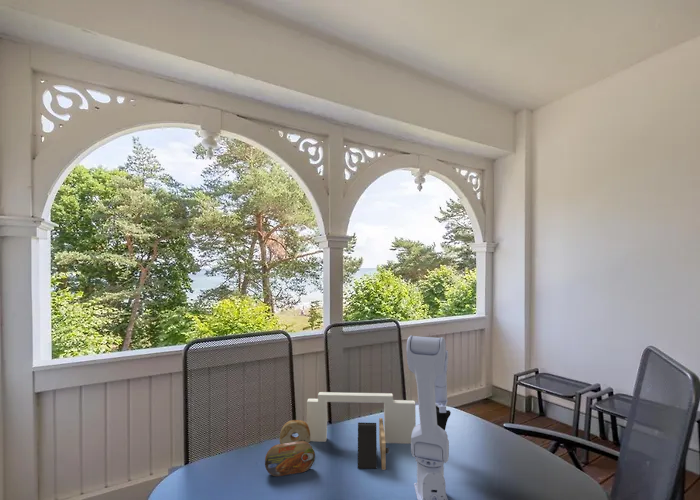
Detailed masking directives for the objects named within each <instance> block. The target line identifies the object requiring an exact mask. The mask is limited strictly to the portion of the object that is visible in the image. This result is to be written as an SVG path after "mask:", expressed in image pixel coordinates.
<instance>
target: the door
mask: <svg viewBox="0 0 700 500" xmlns="http://www.w3.org/2000/svg"><path fill="white" fill-rule="evenodd" d="M383 419H384V418H383V417H379V420H378V425H379V426H378V427H379V428H378V431H379V432H378V434H379V435H378V436H379V437H378V439H379V440H378V441H379V453H380V454H379V455H380V462H381V463H380V465H381V471H385V470H386V469H387V467H386V465H387V463H386V460H387V459H386V454H390V447H387V446H386V445H387V443H386V442H385V434H384V420H383Z"/></svg>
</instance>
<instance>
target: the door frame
mask: <svg viewBox="0 0 700 500" xmlns="http://www.w3.org/2000/svg"><path fill="white" fill-rule="evenodd" d="M328 403H362V404H363V403H366V404H367V403H368V404H369V403H370V404H371V403H372V404H373V403H374V404H383V417H384V418H383V419H384V420H383V426H384V434H385V442H386V444H404V445H405V444H406V445H407V444H410V445H411V435H412V431H413V429H414V427H415V426H417V424H416V419H417V418H416V401H415V400H412V399H411V400H410V399H409V400H406V399H405V400H404V399H394V394H393V393H391V392H390V393H389V392H388V393H387V392H341V391H340V392H335V391H334V392H333V391H332V392H330V391H319V392H318V394H317V398H307V400H306V423H307V424H308V427H309V430H310V442H319V443H321V442H325V443H326V442H327V438H328V437H327V436H328V429H327V428H328Z"/></svg>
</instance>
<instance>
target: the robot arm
mask: <svg viewBox="0 0 700 500" xmlns="http://www.w3.org/2000/svg"><path fill="white" fill-rule="evenodd" d="M406 362H407V366H408V370H409V371H410V372H411V373H413V374H414V378H415V381H416V391H417V402H418V412H419V424H416V426H415V427H414V429H413V431H412V435H411V444H410V453H411V455H412V457H413V458H415V462H416V482H414V483H413V487H414V490H415V491H414V492H415V495H416V498H417V500H449V499H448V496H447V493H446V479H445V475H444V473H445V472H444V471H445V470H444V469H445V466H444V465H445V464H447V463H448V461H449V457H450V442H449V441H450V440H449V438H448V437H449V436H448V434H447V431H446V427H447V423H448V420H449V418H450V416H451V414H452V413H451V410H449V409H447V405H448V403H449V401H448V400H449V399H448V381H447V380H448V377H447V376H448V366H449V365H448V364H449V350H447V345H446V339H445V338H444V337H442V336H441V337H432V336H419V335H417V336H416V335H409V336H408V338H407V340H406Z"/></svg>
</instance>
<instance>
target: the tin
mask: <svg viewBox="0 0 700 500" xmlns="http://www.w3.org/2000/svg"><path fill="white" fill-rule="evenodd" d="M315 460H316V454H315V449H314V448H313V446H312V445H311V444H310V442H309V443H308V442H305V441H298V442H291V443H284V444H280V443H278V444H275V445H273V446H272V447H270V448H269V449H268V450H267V452H266V454H265V459H264V467H265V470H266V471H267V473H268V474H269V475H271V476H273V477H283V476H288V475H294V474H295V475H296V474H301V473H304V472H306V471H309V470H310V469H311V467H312V466H313V465H314V462H315Z"/></svg>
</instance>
